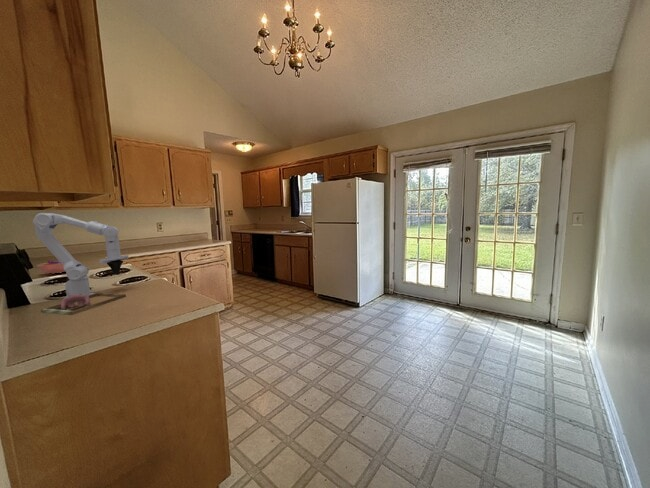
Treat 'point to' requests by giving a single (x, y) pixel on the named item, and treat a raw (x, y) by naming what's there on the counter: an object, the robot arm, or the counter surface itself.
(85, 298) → the video game controller
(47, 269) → the cell model
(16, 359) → the counter surface
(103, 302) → the shallow wooden tray
